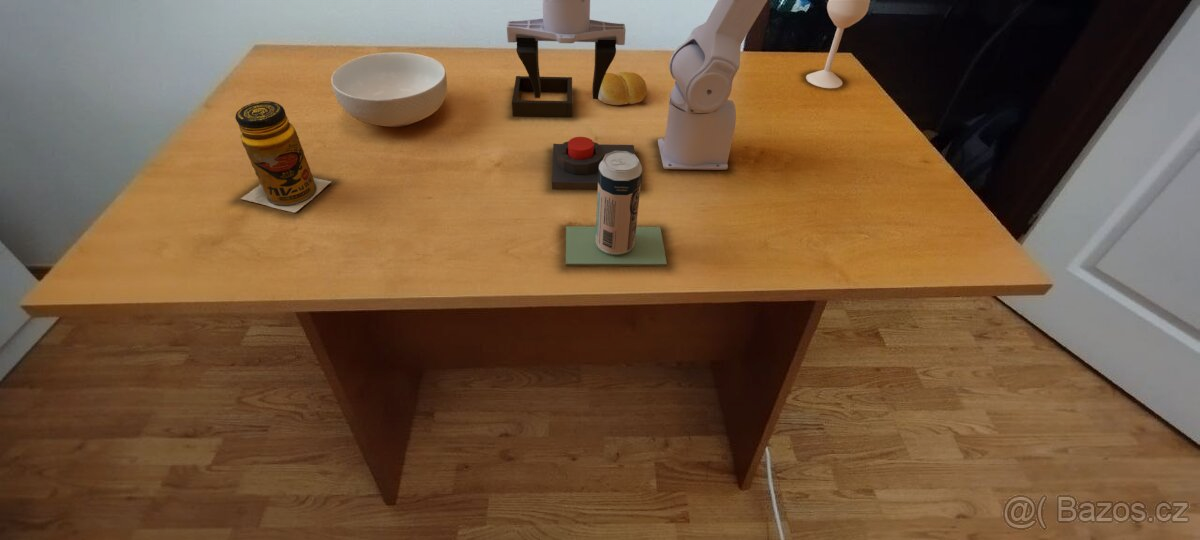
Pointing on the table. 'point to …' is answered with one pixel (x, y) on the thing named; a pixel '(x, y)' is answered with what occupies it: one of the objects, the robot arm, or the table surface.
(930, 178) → the table surface
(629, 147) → the control block
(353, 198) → the table surface
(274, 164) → the condiment
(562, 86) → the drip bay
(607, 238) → the beer can
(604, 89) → the bread roll
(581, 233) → the mat
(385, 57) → the cereal bowl
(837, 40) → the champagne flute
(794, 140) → the table surface
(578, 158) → the button
